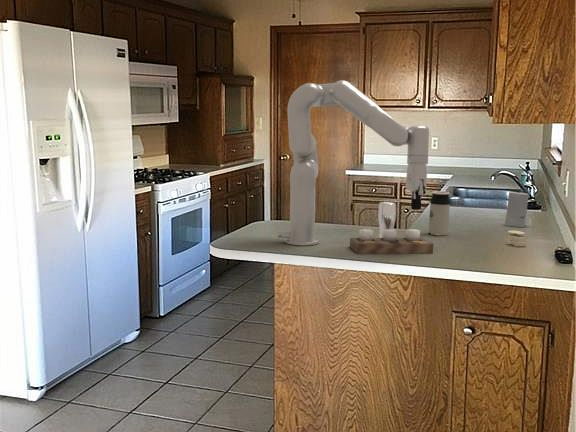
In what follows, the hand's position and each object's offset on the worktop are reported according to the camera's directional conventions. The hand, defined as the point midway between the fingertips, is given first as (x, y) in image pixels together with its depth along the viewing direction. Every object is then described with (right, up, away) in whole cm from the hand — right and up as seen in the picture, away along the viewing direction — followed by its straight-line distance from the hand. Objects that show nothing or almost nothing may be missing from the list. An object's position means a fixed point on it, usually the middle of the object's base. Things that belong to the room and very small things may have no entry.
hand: (415, 209), depth 235 cm
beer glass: (-8, -12, +18) cm, 24 cm away
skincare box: (+60, -7, +63) cm, 87 cm away
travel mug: (+16, -10, +35) cm, 40 cm away
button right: (-1, -12, +2) cm, 12 cm away
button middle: (-10, -11, 0) cm, 15 cm away
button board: (-9, -15, -1) cm, 18 cm away
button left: (-19, -11, -1) cm, 22 cm away
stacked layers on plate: (+42, -14, +16) cm, 47 cm away
